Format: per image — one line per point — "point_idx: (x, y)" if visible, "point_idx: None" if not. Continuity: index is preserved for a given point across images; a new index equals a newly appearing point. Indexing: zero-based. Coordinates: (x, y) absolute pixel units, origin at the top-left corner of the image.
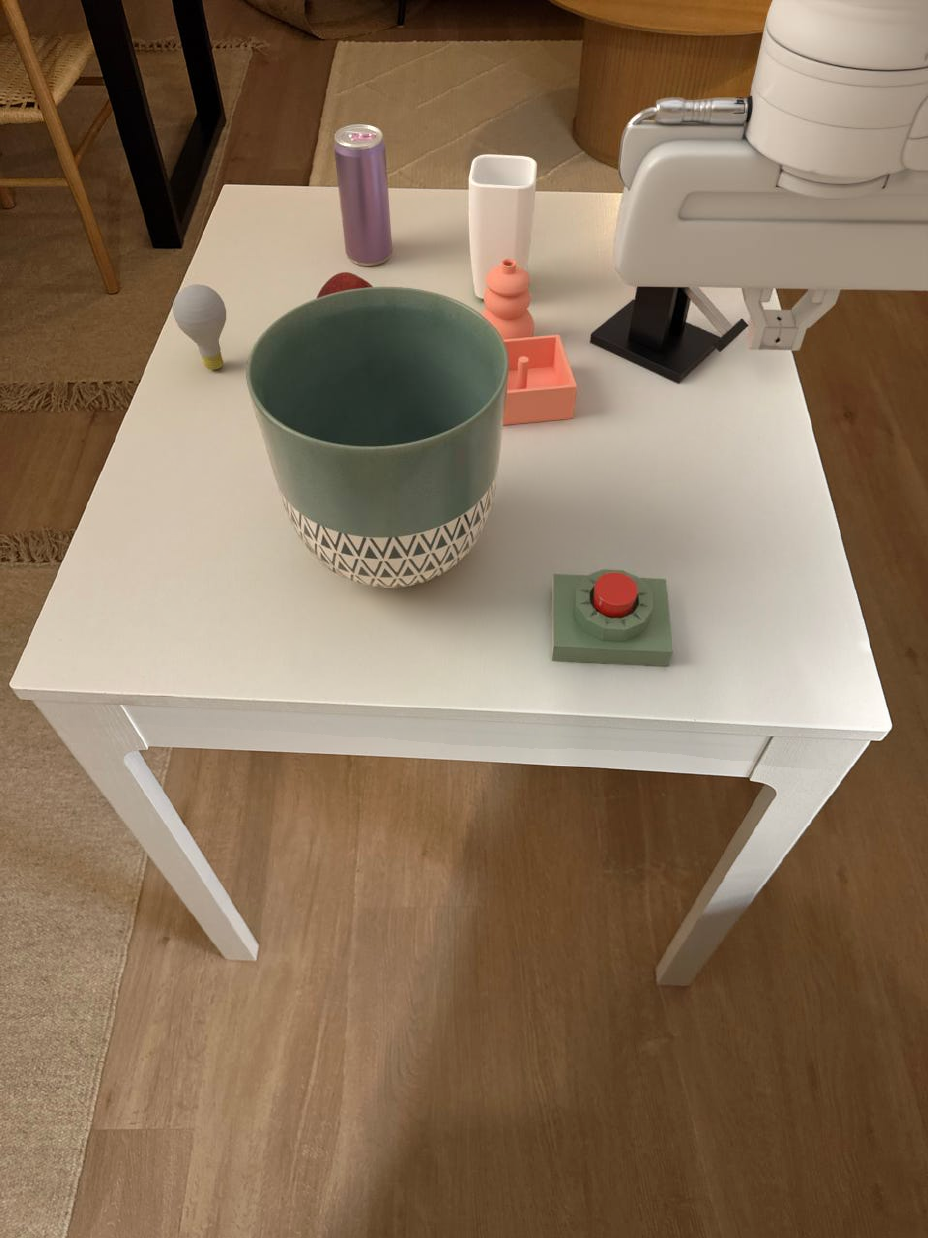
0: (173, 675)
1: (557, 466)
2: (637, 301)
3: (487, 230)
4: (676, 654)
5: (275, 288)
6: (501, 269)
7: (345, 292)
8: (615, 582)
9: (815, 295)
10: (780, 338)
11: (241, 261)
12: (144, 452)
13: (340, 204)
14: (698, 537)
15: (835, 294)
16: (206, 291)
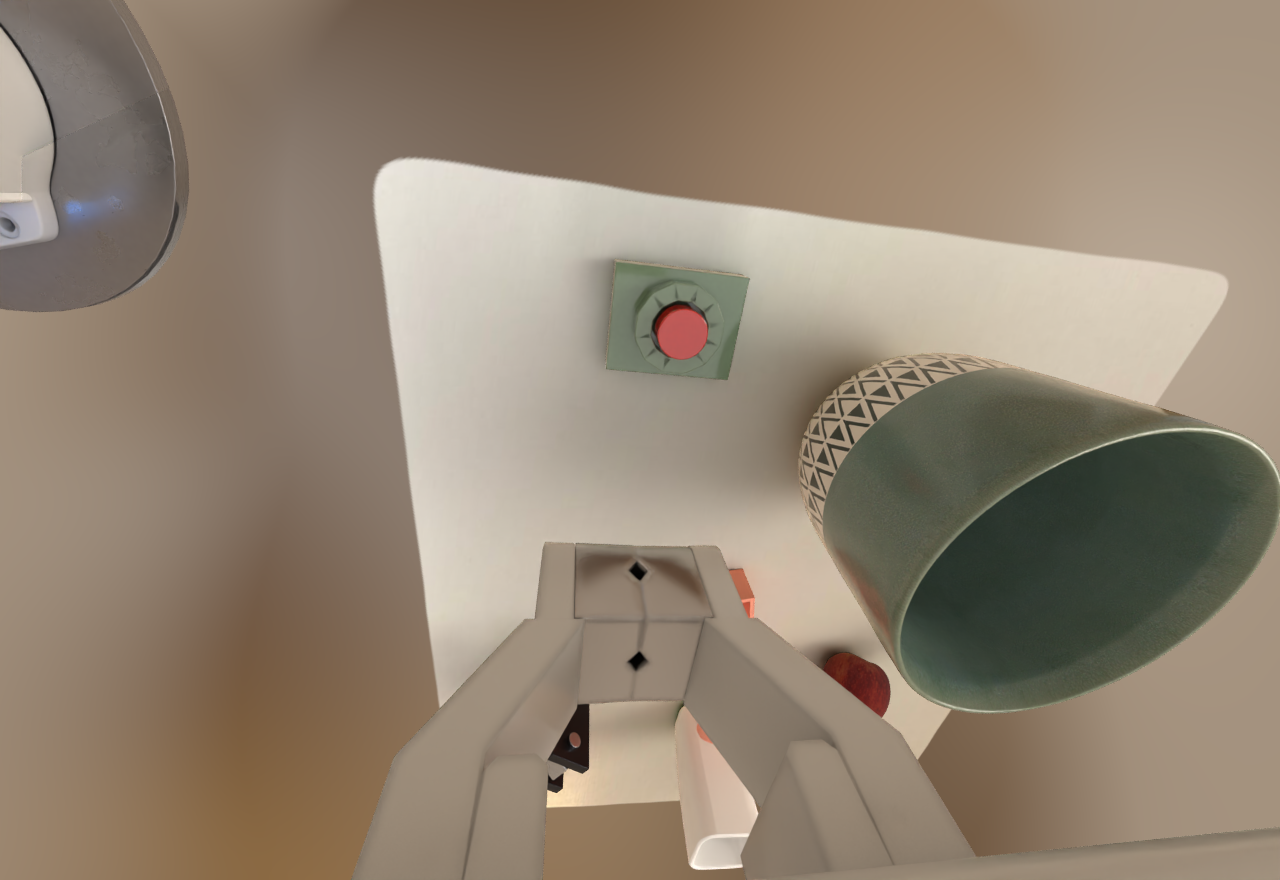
0: (1111, 276)
1: (683, 524)
2: (586, 709)
3: (734, 779)
4: (602, 276)
5: (888, 705)
6: None
7: (1052, 701)
8: (682, 343)
9: (531, 812)
10: (630, 577)
11: (908, 729)
12: None
13: None
14: (552, 435)
15: (392, 836)
16: None
